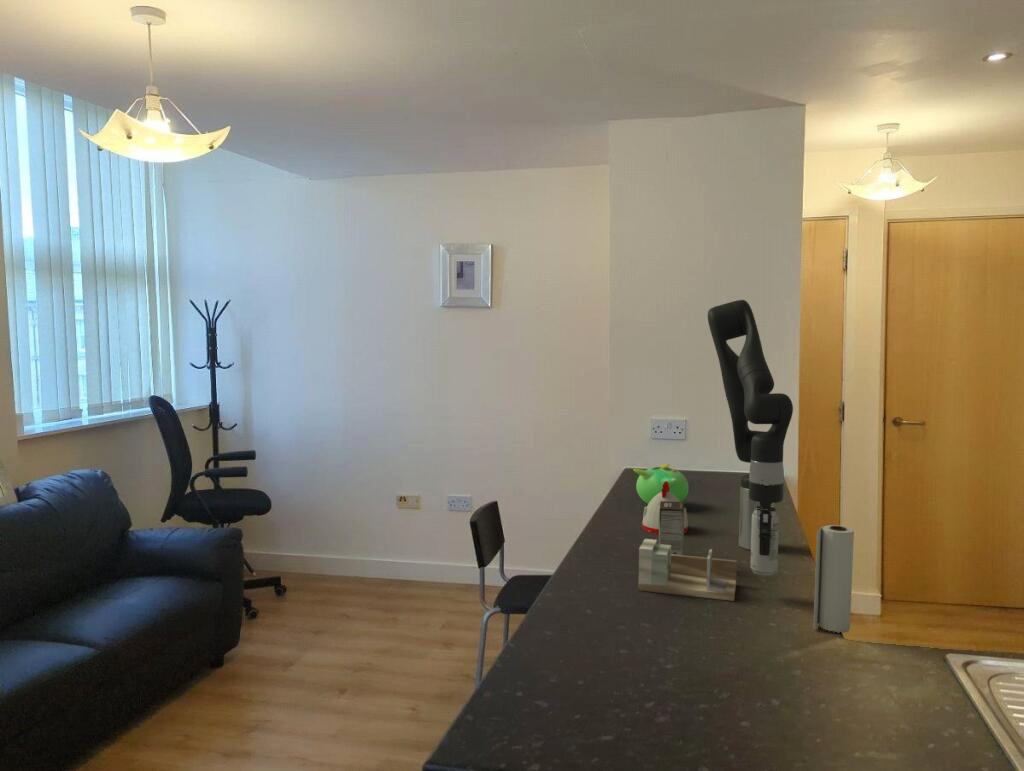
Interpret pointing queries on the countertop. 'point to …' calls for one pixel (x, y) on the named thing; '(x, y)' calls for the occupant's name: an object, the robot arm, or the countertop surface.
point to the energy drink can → (759, 562)
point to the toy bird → (661, 482)
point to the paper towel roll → (833, 578)
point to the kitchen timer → (653, 510)
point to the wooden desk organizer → (685, 573)
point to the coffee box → (672, 526)
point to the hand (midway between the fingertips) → (764, 550)
